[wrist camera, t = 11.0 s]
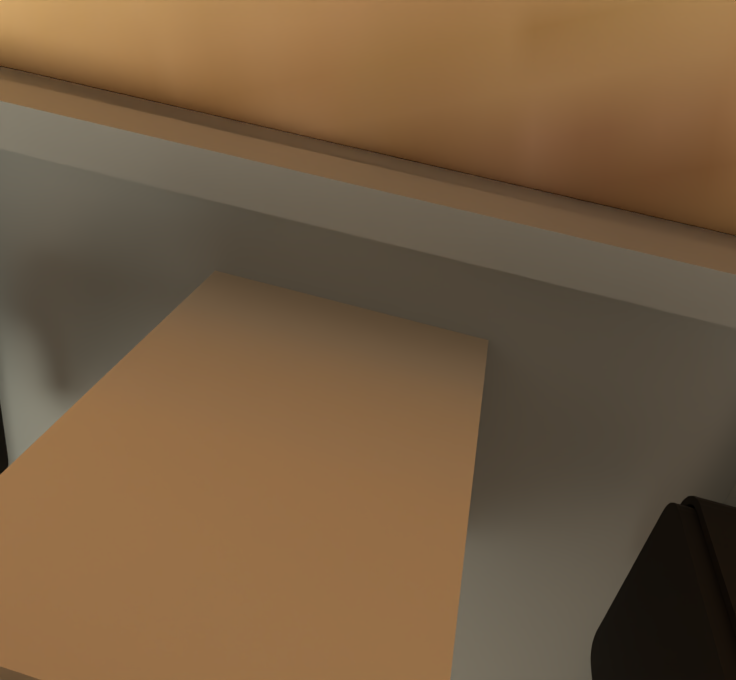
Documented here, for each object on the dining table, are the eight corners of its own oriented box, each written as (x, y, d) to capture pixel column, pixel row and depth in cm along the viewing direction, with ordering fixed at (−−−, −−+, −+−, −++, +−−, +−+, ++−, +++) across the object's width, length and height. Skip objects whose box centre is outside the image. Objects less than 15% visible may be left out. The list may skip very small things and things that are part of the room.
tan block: (488, 340, 9) (435, 808, 4) (426, 540, 11) (339, 1022, 6) (215, 270, 10) (-151, 616, 4) (203, 476, 12) (-56, 878, 6)
